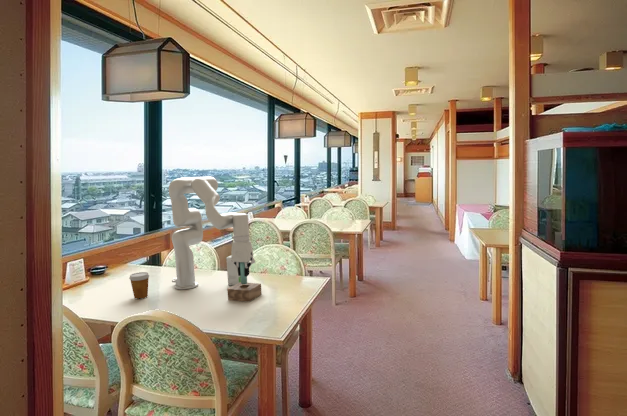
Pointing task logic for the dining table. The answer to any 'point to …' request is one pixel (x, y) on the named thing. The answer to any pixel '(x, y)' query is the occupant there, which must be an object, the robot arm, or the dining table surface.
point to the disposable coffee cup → (139, 284)
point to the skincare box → (232, 272)
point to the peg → (243, 273)
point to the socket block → (244, 292)
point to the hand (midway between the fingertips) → (243, 275)
